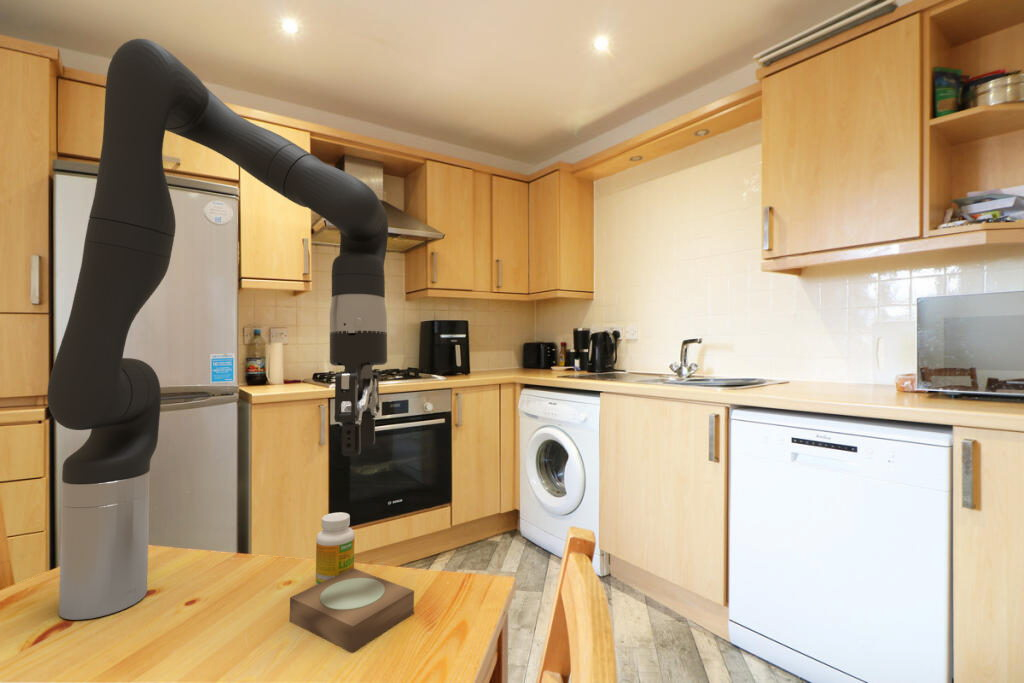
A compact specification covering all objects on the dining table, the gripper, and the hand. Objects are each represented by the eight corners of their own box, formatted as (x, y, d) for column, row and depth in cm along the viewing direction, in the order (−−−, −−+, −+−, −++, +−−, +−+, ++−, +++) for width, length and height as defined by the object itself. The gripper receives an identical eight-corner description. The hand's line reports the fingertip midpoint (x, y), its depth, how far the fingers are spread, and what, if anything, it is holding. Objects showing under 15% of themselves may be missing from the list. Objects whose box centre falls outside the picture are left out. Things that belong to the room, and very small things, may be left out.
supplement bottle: (341, 592, 70) (342, 524, 70) (307, 588, 71) (308, 521, 71) (360, 575, 75) (361, 512, 75) (328, 571, 76) (329, 509, 76)
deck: (289, 620, 62) (290, 595, 62) (352, 588, 71) (353, 566, 71) (352, 652, 56) (352, 624, 56) (413, 613, 64) (414, 589, 64)
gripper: (345, 335, 74) (345, 443, 73) (313, 326, 59) (313, 460, 58) (395, 334, 74) (396, 441, 73) (375, 325, 60) (376, 458, 59)
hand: (359, 450), depth 66 cm, fingers open, 8 cm apart
